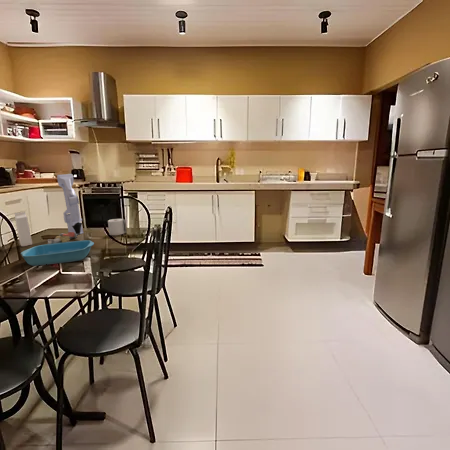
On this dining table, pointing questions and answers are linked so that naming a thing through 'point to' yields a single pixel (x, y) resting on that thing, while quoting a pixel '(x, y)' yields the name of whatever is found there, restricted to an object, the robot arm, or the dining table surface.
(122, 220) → the toilet tissue
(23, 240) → the milk
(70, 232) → the lever
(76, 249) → the casserole dish
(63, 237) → the valve body
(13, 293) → the dining table surface
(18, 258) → the dining table surface
